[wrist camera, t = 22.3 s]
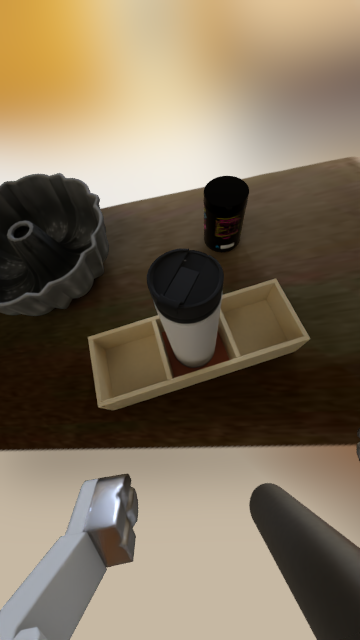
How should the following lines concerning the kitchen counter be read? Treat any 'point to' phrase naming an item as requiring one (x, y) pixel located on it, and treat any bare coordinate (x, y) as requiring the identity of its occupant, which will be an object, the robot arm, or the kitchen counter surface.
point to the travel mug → (188, 302)
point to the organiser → (169, 374)
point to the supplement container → (224, 212)
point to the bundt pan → (48, 243)
